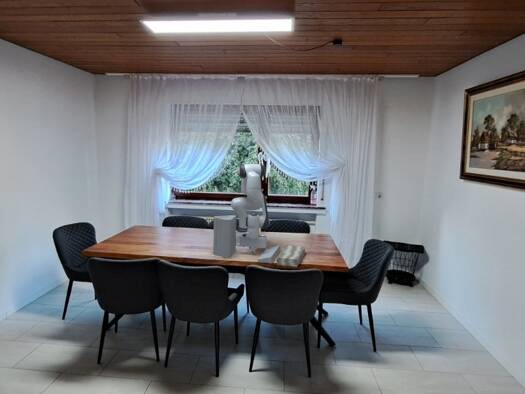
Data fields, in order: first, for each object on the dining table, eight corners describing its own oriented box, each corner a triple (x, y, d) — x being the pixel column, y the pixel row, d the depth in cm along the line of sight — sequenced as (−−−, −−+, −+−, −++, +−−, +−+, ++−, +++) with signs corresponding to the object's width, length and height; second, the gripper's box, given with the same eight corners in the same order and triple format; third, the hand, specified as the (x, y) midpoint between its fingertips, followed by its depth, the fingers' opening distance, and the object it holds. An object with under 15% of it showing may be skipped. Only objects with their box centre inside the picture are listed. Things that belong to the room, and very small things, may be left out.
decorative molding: (259, 266, 256) (272, 263, 254) (257, 259, 256) (271, 257, 253) (268, 253, 289) (281, 251, 287) (267, 247, 289) (279, 245, 286)
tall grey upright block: (217, 250, 284) (217, 214, 281) (235, 251, 282) (236, 215, 278) (209, 256, 265) (210, 218, 262) (229, 258, 263) (230, 220, 260)
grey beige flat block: (276, 264, 251) (276, 257, 250) (286, 251, 285) (286, 245, 285) (297, 266, 247) (297, 259, 247) (304, 253, 282) (305, 246, 281)
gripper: (267, 234, 272) (267, 252, 274) (241, 232, 278) (241, 250, 279) (265, 236, 266) (265, 254, 268) (239, 234, 271) (238, 252, 273)
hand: (252, 252), depth 274 cm, fingers closed
